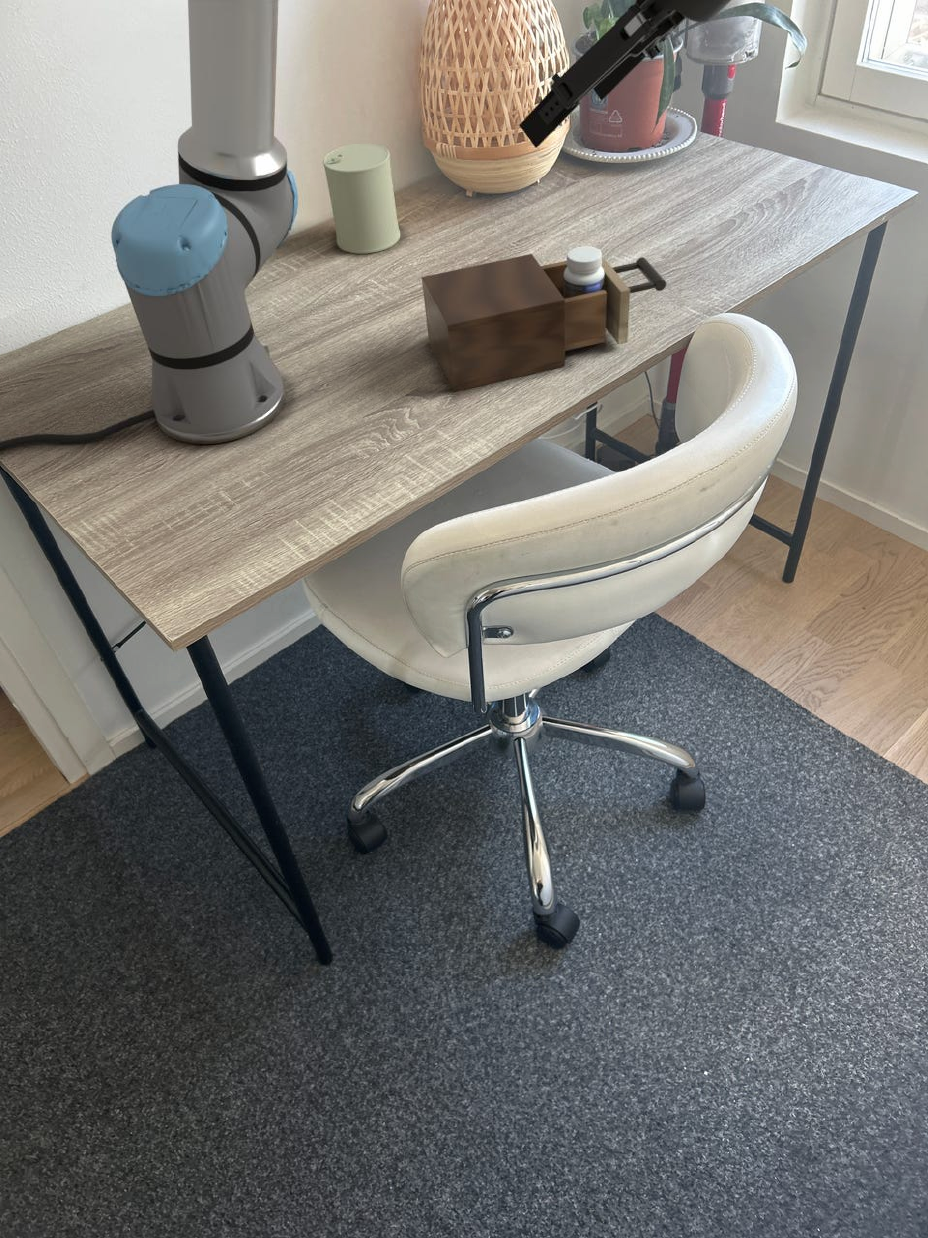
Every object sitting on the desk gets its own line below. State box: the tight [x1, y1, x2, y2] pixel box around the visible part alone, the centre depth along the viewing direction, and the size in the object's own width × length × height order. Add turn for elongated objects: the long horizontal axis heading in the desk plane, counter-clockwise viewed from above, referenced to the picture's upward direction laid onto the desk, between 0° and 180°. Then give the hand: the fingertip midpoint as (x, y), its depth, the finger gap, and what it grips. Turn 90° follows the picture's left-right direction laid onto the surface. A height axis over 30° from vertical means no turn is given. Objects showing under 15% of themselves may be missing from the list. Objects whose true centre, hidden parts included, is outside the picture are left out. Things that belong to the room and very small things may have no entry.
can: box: [322, 142, 401, 255], centre depth 136 cm, size 9×9×12 cm
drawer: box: [540, 255, 667, 352], centre depth 116 cm, size 18×10×7 cm, turn 106°
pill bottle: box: [563, 245, 605, 299], centre depth 115 cm, size 5×5×8 cm
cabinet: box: [421, 253, 566, 393], centre depth 115 cm, size 14×12×9 cm
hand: (563, 111), depth 102 cm, fingers open, 13 cm apart
